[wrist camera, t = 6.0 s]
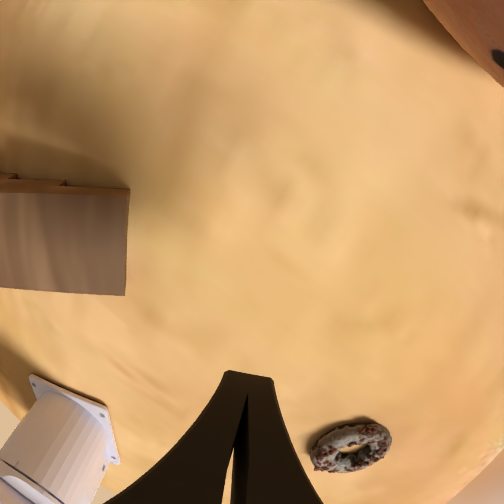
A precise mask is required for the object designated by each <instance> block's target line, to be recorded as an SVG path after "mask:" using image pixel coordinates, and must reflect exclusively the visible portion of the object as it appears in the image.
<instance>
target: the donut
mask: <svg viewBox="0 0 504 504" xmlns="http://www.w3.org/2000/svg"><path fill="white" fill-rule="evenodd" d="M326 434H327V433H326ZM326 434H325V435H323V436H322V437H321V438H320V439H319V440H318V441H317V442H316V444H315V445H314V447H312V448H311V454H310V458H311V461H312V463H313V465H315V468H314V471H319V470H321V471H328V472H329V473H336V472H337V473H349V472H354V471H359V470H362V469H364V468H367V467H368V466H370V465H372V464H373V463H375V462H377V461H379V460H380V459H381V458H384V455H385V454H386V453H387V451H389V449H390V446H391V442H392V437H391V436H390V432H389V430H388V429H387V428H385V427H383V426H382V425H380V424H369V425H366V424H359V425H353V424H351V425H345V426H342V427H336V428H335V429H334V430H333V431H332V432H330V433H329V434H327V435H326ZM364 443H367V444H369V445H367V446H366V447H365V448H362V449H360V450H358V451H357V452H355V453H350V454H341V452H339V450H340V449H341V448H344V447H346V446H348V447H351V446H352V445H361V444H364Z"/></svg>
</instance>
